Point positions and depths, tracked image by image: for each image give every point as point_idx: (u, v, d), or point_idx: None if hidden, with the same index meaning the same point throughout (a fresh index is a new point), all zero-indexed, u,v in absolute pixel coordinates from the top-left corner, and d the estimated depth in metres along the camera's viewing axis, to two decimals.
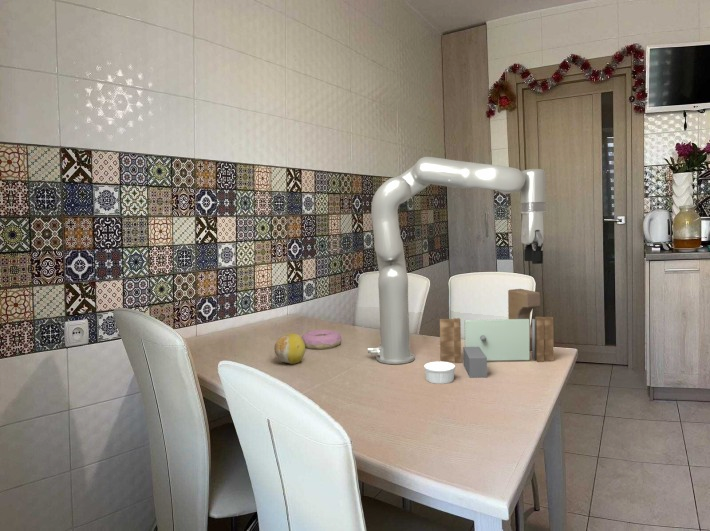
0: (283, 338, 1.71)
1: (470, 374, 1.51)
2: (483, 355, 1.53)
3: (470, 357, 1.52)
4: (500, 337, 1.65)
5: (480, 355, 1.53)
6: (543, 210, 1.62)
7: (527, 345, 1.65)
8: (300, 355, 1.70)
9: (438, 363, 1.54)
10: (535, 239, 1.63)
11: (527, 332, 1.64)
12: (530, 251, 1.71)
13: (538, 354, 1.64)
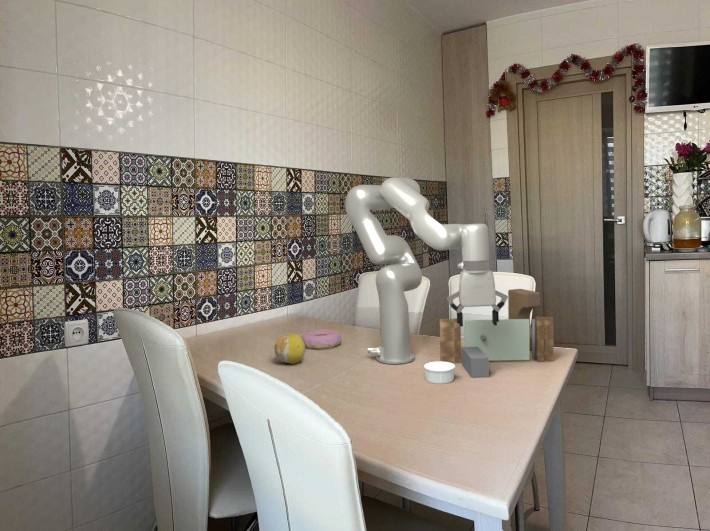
0: (283, 338, 1.71)
1: (472, 374, 1.51)
2: (484, 355, 1.53)
3: (471, 357, 1.51)
4: (500, 337, 1.65)
5: (481, 355, 1.54)
6: None
7: (527, 345, 1.65)
8: (300, 355, 1.70)
9: (438, 363, 1.54)
10: None
11: (527, 332, 1.64)
12: None
13: (538, 354, 1.64)
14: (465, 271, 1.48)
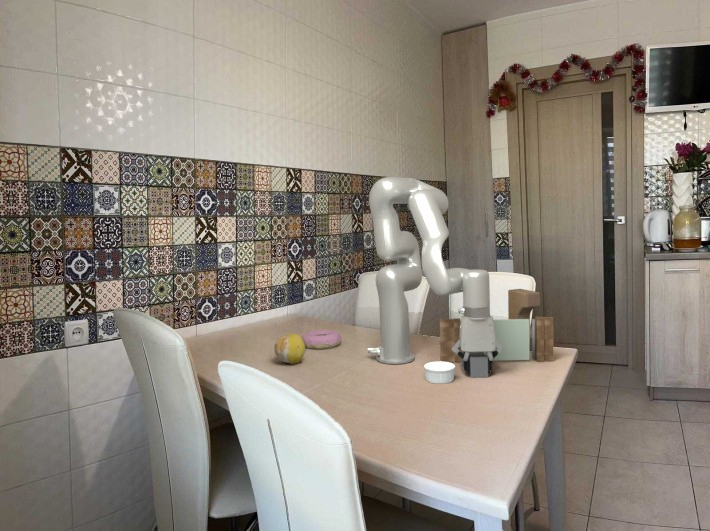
0: (283, 338, 1.71)
1: (471, 374, 1.51)
2: (483, 354, 1.53)
3: (471, 357, 1.51)
4: (500, 337, 1.65)
5: (480, 354, 1.53)
6: None
7: (527, 345, 1.65)
8: (300, 355, 1.70)
9: (438, 363, 1.54)
10: None
11: (527, 332, 1.64)
12: None
13: (538, 354, 1.64)
14: (466, 317, 1.50)
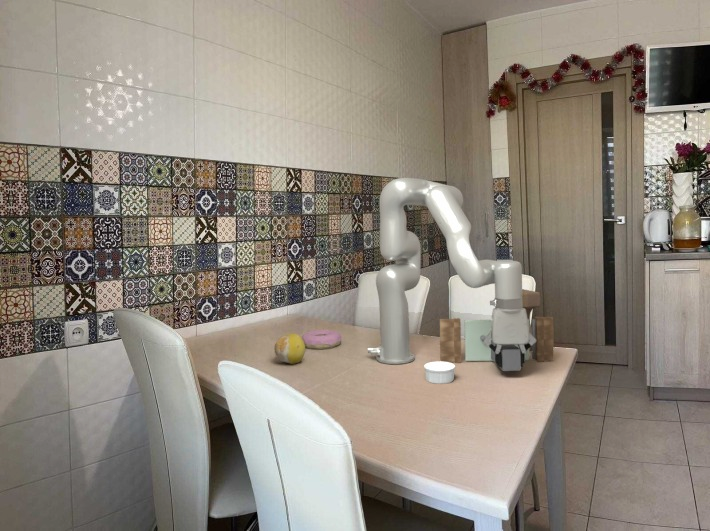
0: (283, 338, 1.71)
1: (504, 366, 1.48)
2: (515, 347, 1.51)
3: (503, 349, 1.49)
4: None
5: (512, 347, 1.51)
6: None
7: None
8: (300, 355, 1.70)
9: (438, 363, 1.54)
10: None
11: None
12: None
13: (538, 354, 1.64)
14: (498, 309, 1.47)
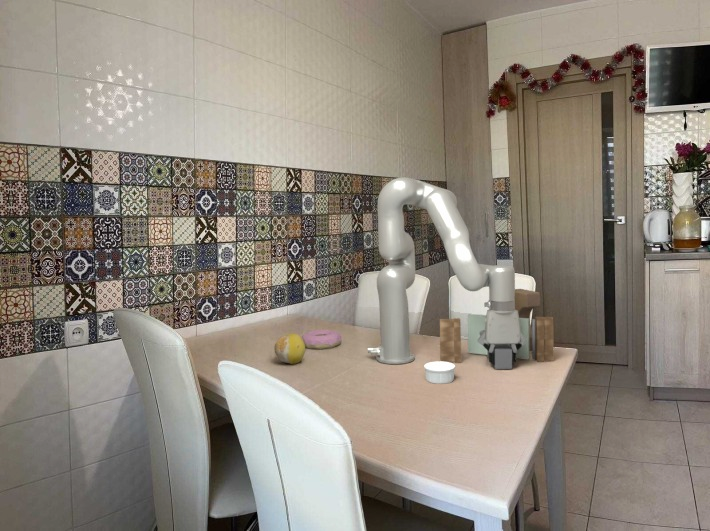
0: (283, 338, 1.71)
1: (496, 365, 1.58)
2: (508, 346, 1.60)
3: (496, 348, 1.58)
4: None
5: (505, 346, 1.60)
6: None
7: (526, 344, 1.66)
8: (300, 355, 1.70)
9: (438, 363, 1.54)
10: None
11: (526, 331, 1.65)
12: None
13: (538, 354, 1.64)
14: (492, 310, 1.56)
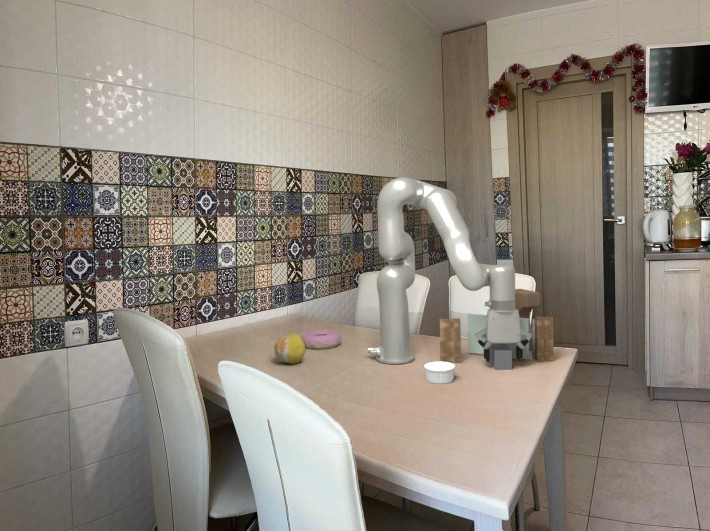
0: (283, 338, 1.71)
1: (496, 366, 1.58)
2: (508, 348, 1.60)
3: (495, 350, 1.58)
4: None
5: (505, 348, 1.60)
6: None
7: (526, 344, 1.66)
8: (300, 355, 1.70)
9: (438, 363, 1.54)
10: None
11: None
12: None
13: (538, 354, 1.64)
14: (492, 310, 1.56)
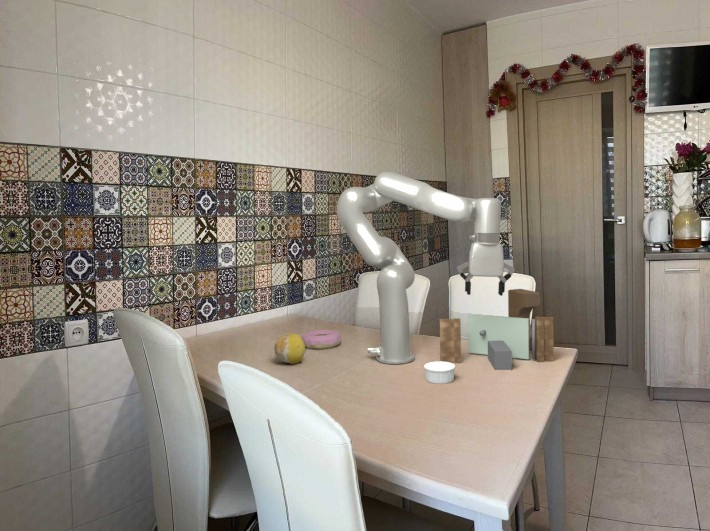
0: (283, 338, 1.71)
1: (495, 366, 1.58)
2: (508, 348, 1.60)
3: (495, 350, 1.58)
4: (500, 333, 1.70)
5: (505, 348, 1.60)
6: None
7: (526, 344, 1.66)
8: (300, 355, 1.70)
9: (438, 363, 1.54)
10: None
11: (526, 331, 1.65)
12: None
13: (538, 354, 1.64)
14: (476, 242, 1.56)
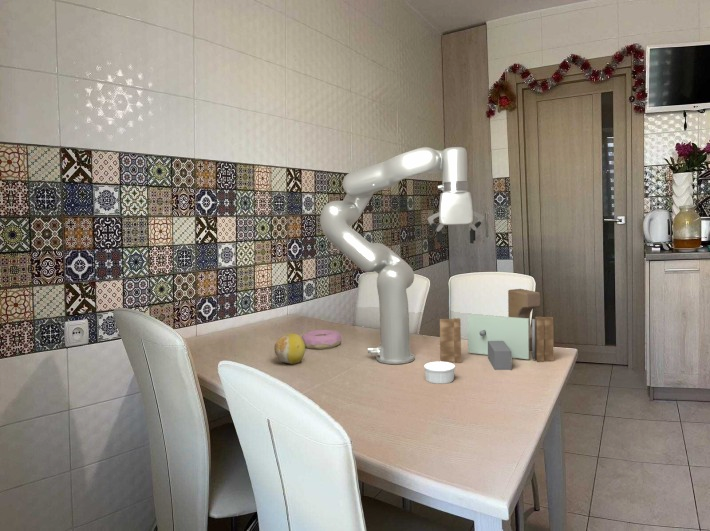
0: (283, 338, 1.71)
1: (495, 366, 1.58)
2: (508, 348, 1.60)
3: (495, 350, 1.58)
4: (500, 333, 1.70)
5: (505, 348, 1.60)
6: None
7: (526, 344, 1.66)
8: (300, 355, 1.70)
9: (438, 363, 1.54)
10: None
11: (526, 331, 1.65)
12: None
13: (538, 354, 1.64)
14: (445, 192, 1.59)
